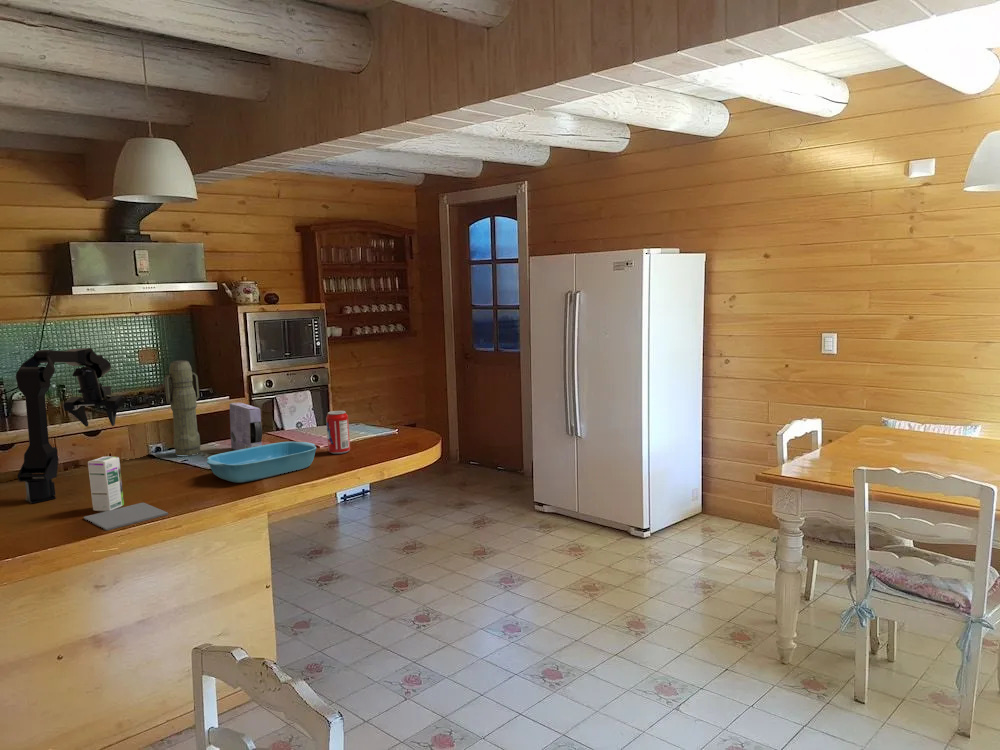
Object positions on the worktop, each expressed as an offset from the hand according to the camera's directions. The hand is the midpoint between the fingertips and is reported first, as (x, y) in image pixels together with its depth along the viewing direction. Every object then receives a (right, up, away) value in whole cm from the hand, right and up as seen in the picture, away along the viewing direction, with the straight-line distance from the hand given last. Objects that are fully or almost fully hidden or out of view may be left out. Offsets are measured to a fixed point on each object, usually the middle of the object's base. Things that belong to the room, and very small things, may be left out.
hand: (100, 425), depth 253 cm
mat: (+35, -21, -52) cm, 66 cm away
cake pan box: (+43, -11, +22) cm, 50 cm away
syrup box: (+26, -21, -44) cm, 55 cm away
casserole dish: (+59, -15, -8) cm, 61 cm away
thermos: (+21, -12, +22) cm, 33 cm away
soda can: (+79, -11, +16) cm, 81 cm away
